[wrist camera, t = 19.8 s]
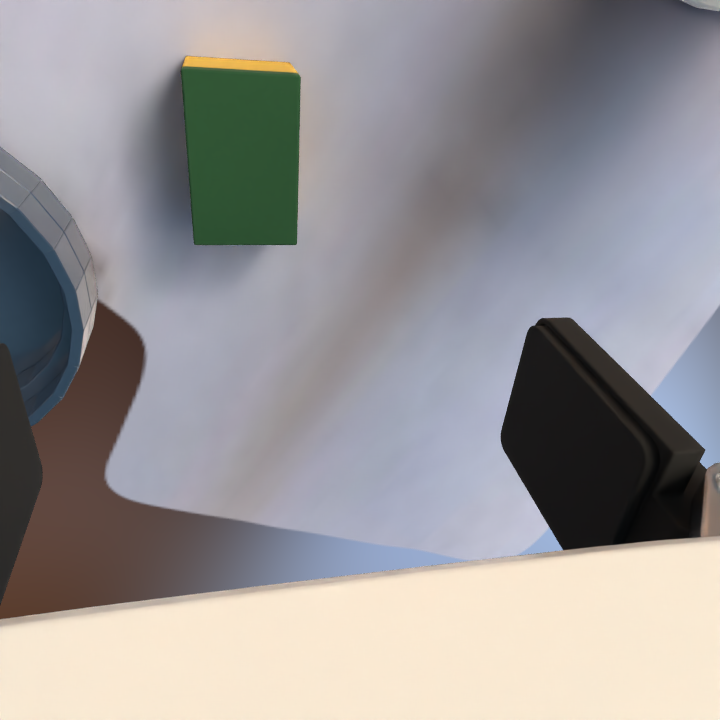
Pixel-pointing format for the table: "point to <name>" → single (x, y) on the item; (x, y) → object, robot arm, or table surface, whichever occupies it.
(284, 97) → the sponge
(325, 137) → the table surface
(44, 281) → the bowl
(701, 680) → the robot arm
